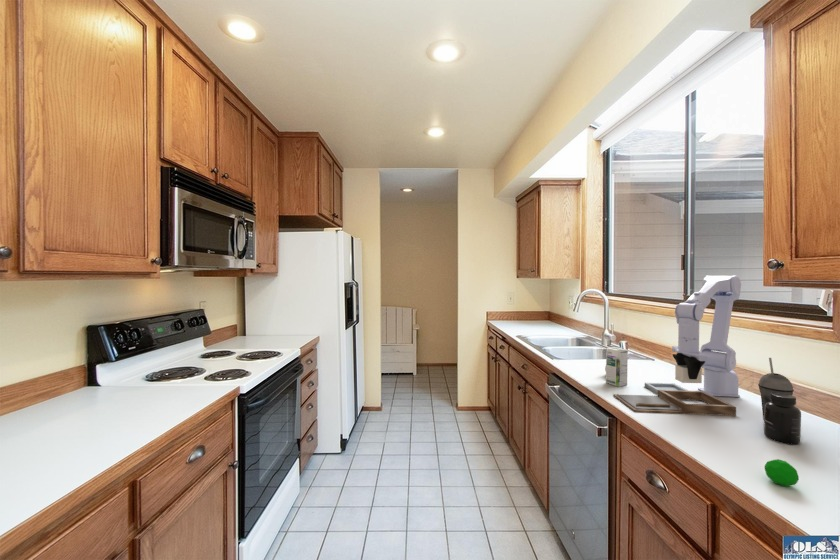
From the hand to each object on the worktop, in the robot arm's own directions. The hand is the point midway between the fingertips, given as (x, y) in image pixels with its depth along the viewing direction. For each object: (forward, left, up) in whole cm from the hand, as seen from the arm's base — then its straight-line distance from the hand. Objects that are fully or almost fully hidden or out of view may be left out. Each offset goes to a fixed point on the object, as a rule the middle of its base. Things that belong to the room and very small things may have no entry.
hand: (688, 377), depth 121 cm
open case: (+8, +3, -9) cm, 12 cm away
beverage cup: (-12, +19, -9) cm, 24 cm away
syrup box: (+15, -19, -9) cm, 26 cm away
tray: (0, -11, -9) cm, 14 cm away
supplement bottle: (-7, +27, -9) cm, 29 cm away
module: (0, 0, -1) cm, 1 cm away
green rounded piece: (+12, +49, -9) cm, 51 cm away
